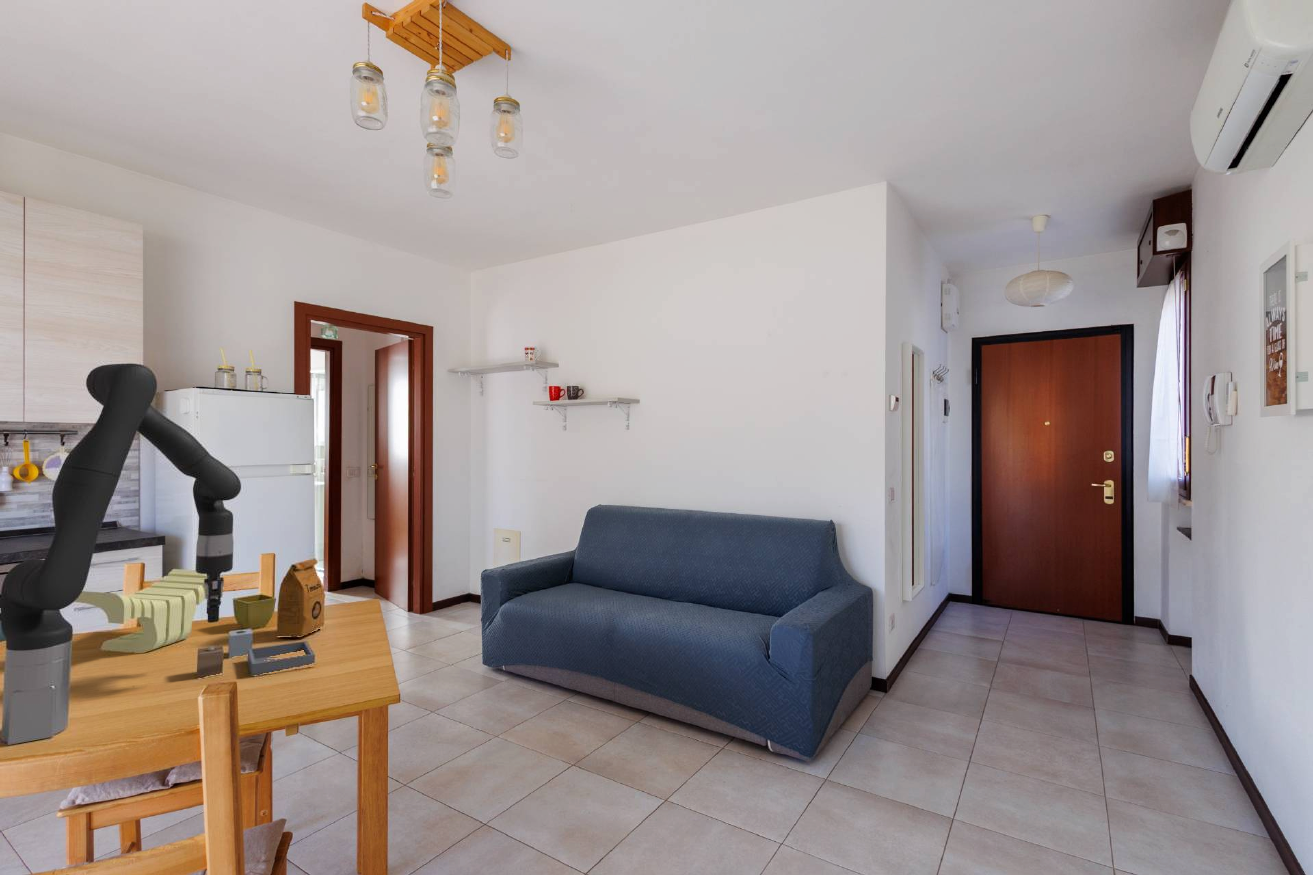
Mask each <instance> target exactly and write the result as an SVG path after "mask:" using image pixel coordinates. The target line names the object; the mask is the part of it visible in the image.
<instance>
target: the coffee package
mask: <svg viewBox="0 0 1313 875" xmlns="http://www.w3.org/2000/svg"><path fill="white" fill-rule="evenodd" d="M317 564H318V560H317V558H311V559H308V560H304V561H301V562H300V561H299V562H297V563H296V562H295V563H294V564H293V563H292V564H291V565H290V567H289V569H288V570H287V571H286V574H285V576H284V577H283V579H282V581H281V583H280V586H279V591H278V601H277V616H276V620H277V621H276V623H277V624H276V625H277V626H276V637H277V636H291V638H292V637H297V636H304V635H306V634H308V635H310V634H309V633H310V632H312V631H314V630H316V629H317V628H320V627H321V626H323V625H324V626H325V605H326V604H325V603H326V592H325V587H324V585H323V583H322V580H321V579H320V577H319V576H318V573H317V569H316V567H315V565H317ZM324 626H323V627H324ZM306 636H307V635H306ZM304 637H305V636H304Z"/></svg>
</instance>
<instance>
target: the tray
mask: <svg viewBox="0 0 1313 875" xmlns="http://www.w3.org/2000/svg"><path fill="white" fill-rule="evenodd" d="M301 650H304V652H305V654H306V655H303V656H297V657H290V658H283V659H277V660H275V659H267V658H275V657H270V656H276V655H280V654H286V653H290V652H297V651H301ZM276 658H277V657H276ZM246 659H247V660H248V662H247V665H248V664H249V666H248V668H250V669H249V672H251V673H250V676H251V675H252V676H254V675H260V674H263V673H269V672H274V671H280V670H283V669H289V668H293V667H300V666H303V665H309V664H312V663H315V659H316V654H315V652H314V650H313V649H312V647H311V646H310V643H309V642H308V640H304V641H303V640H302V641H297V642H289V643H281V644H274V645H273V644H272V645H268V646H267V645H266V646H260V647H252V648H251V649H248V656H247V658H246ZM264 660H265V661H264ZM267 660H270V661H267Z"/></svg>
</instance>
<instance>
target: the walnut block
mask: <svg viewBox="0 0 1313 875" xmlns="http://www.w3.org/2000/svg"><path fill="white" fill-rule="evenodd" d="M196 660H197V664H196V679H197V678H202V679H205V678H204V677H206V676H210V675H216V674H220V673H222V674H223V668H224V667H223V666H224V665H223V664H224V646H223V645H222V644H221V645H216V646H215V645H214V646H208V647H201V648H198V649H197V658H196Z"/></svg>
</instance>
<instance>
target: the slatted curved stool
mask: <svg viewBox="0 0 1313 875" xmlns="http://www.w3.org/2000/svg"><path fill="white" fill-rule="evenodd" d="M204 579H207V574H199V573H197V572H196V569H181V568H180V569H179V568H178V569H177V568H173V569H172V570H170V572H168V574H167V575H165V576H162V577H161V578H160V579H158V581H155V582H154V583H152V584H151V585H150V586H146V587H145V588H143V589H141V590H138V591H136V592H134V593H130V594H126V595H125V594H124V595H123V594H120V593H119V594H118V593H114V592H112V593H111V592H99V591H84V590H83V591H82V593H81V594H80V595H79V597H78V598H77V599H76V600H75V601H74V602H73V603H80V604H88V605H92V606H94V607H98V608H99V609H101V610H103V612H104V613H105V615H106V617H107V620H108V621H107V622H108V624H121V625H125V624H126V623H128V622H130V621H131V620H132V619H133V620H135V619H137V621H138V623H139V624H140V626H141V628H142V630H138V631H135V632H133V633H128V634H125V635H122V636H118V637H116V638H112V639H108V640H105V641H103V643H102V645H101V647H100V649H102V650H101V651H109V650H110V651H111V652H122V653H123V652H124V653H132V652H134V653H135V654H136V653H137V654H143V653H147V652H150V651H153V650H156V649H158V648H159V649H160V648H162V647H165V646H168V645H170V644H173V643H176V642H180V641H182V640H185V639H188V638H189V637H190V635H191V632H192V625H193V622H194V616H195V613H196V611H197V606H200V604H202V602H204V601H205V600H207V599H206V598H205V588H204ZM100 649H99V650H100Z"/></svg>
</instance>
